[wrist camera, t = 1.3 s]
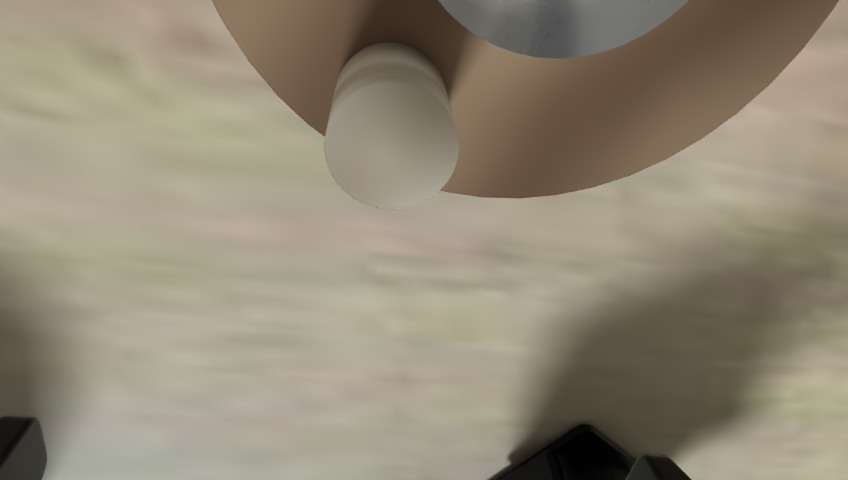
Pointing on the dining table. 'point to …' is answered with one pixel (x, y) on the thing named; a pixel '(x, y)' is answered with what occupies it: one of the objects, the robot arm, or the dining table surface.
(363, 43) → the lazy susan
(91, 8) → the dining table surface
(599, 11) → the cast cover
